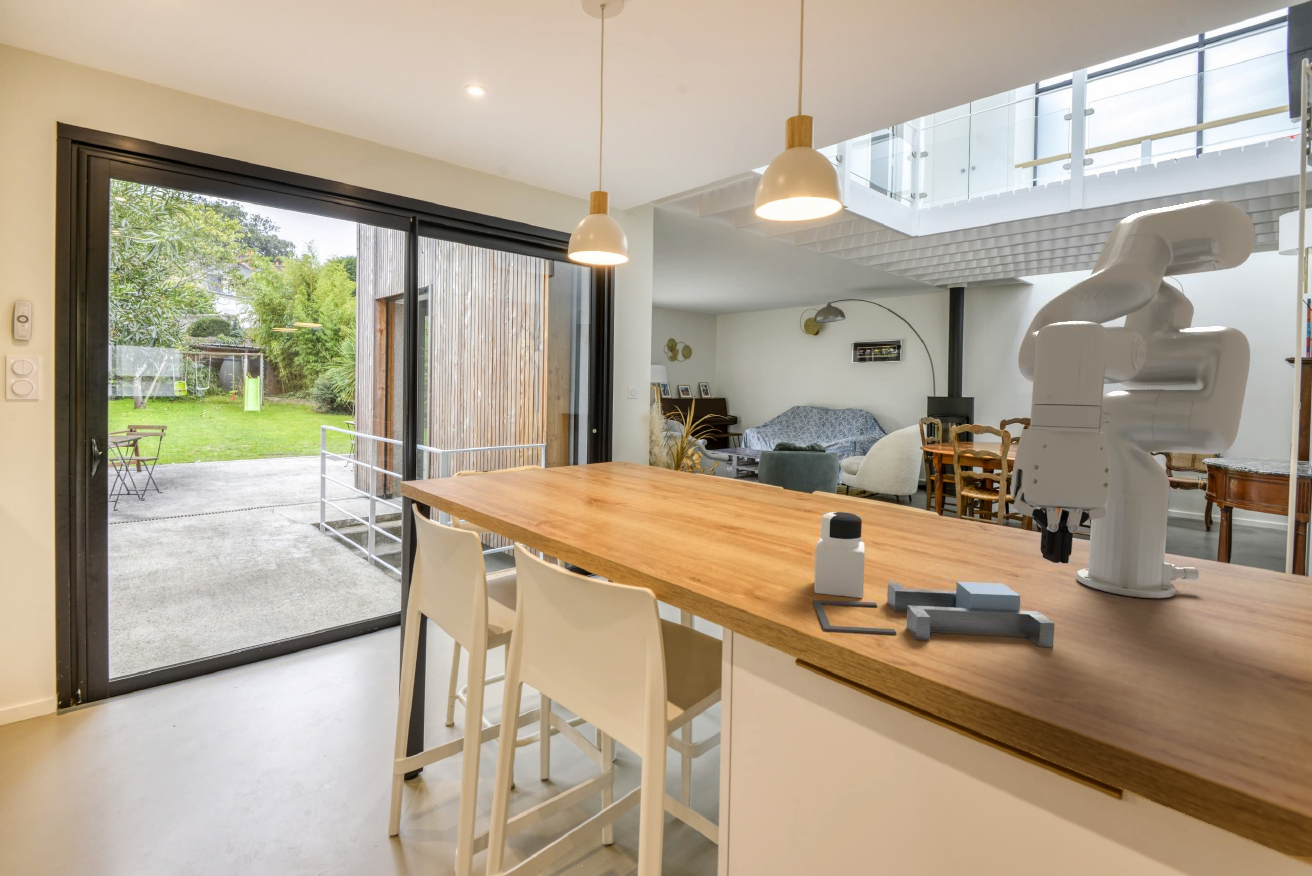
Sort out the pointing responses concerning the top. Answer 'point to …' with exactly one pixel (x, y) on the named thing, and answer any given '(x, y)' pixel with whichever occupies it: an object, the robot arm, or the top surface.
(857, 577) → the medicine bottle
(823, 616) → the bay
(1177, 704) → the top surface
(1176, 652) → the top surface
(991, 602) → the block
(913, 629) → the grey stepped fixture
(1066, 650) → the top surface
